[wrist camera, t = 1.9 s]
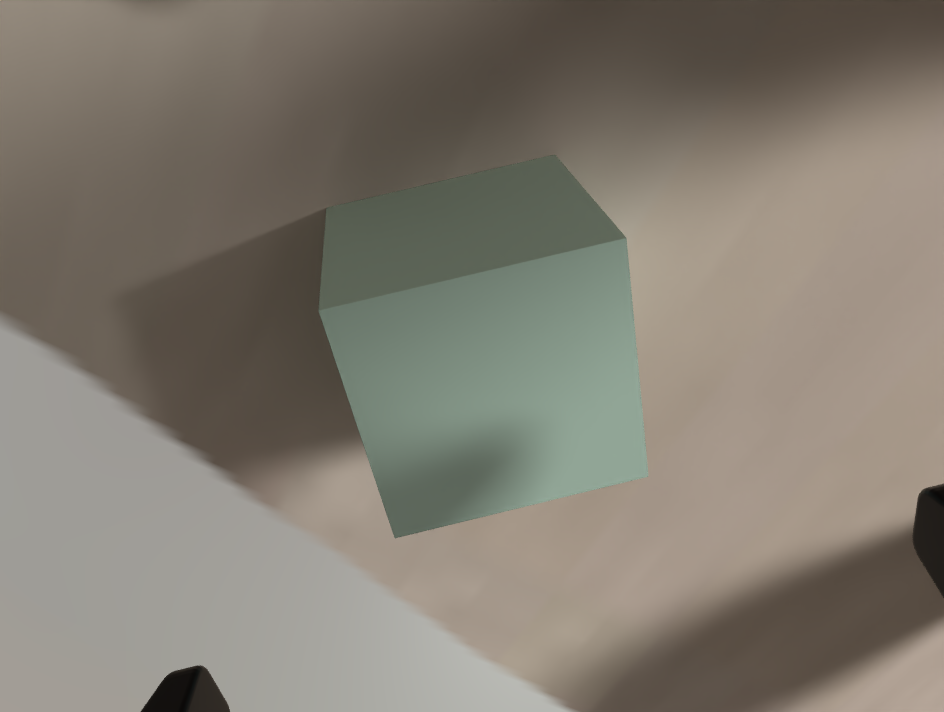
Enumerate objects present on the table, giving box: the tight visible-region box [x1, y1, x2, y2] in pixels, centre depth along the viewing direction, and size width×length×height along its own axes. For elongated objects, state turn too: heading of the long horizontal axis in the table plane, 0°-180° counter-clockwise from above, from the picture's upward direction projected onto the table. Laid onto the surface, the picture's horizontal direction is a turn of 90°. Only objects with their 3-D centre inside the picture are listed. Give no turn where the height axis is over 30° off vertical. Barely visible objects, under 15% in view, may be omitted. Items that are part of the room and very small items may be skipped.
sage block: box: [318, 155, 648, 538], centre depth 16 cm, size 5×5×5 cm
